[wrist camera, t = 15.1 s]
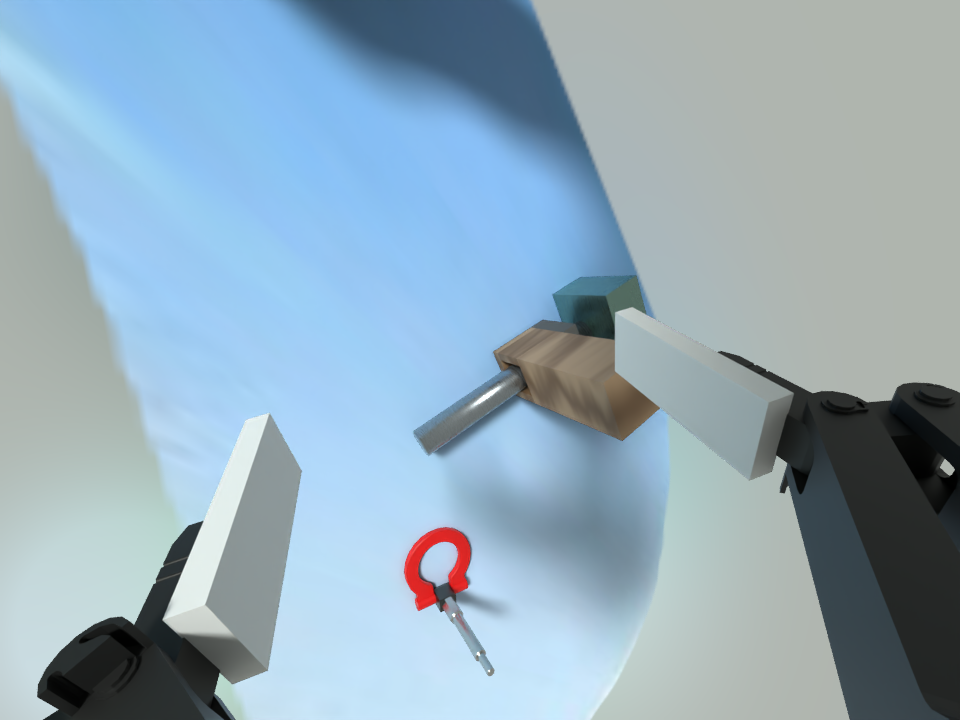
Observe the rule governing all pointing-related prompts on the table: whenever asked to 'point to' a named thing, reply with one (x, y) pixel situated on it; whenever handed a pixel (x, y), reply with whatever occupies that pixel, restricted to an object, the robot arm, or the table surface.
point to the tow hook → (445, 586)
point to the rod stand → (576, 303)
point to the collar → (557, 326)
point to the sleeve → (576, 380)
